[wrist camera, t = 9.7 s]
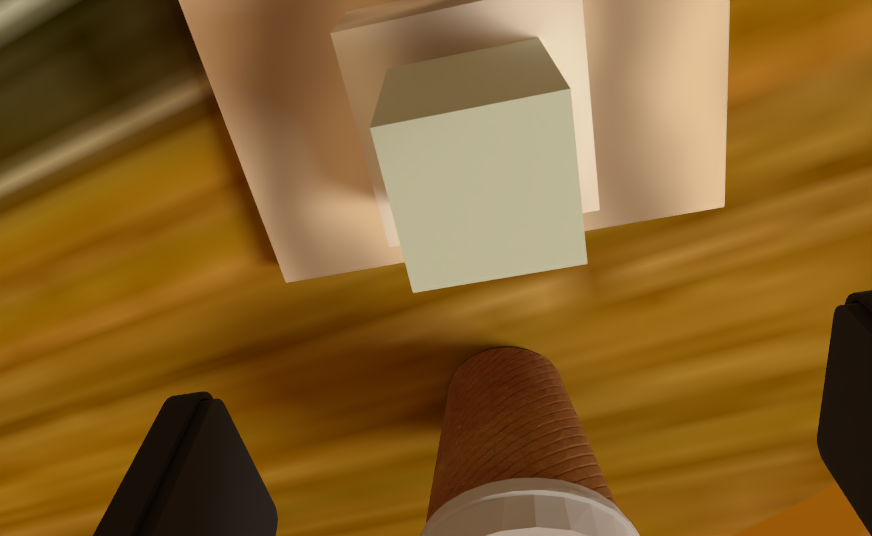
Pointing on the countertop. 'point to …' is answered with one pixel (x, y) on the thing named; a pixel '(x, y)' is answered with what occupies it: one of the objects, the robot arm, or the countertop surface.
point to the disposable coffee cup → (516, 456)
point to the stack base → (327, 154)
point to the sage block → (481, 165)
